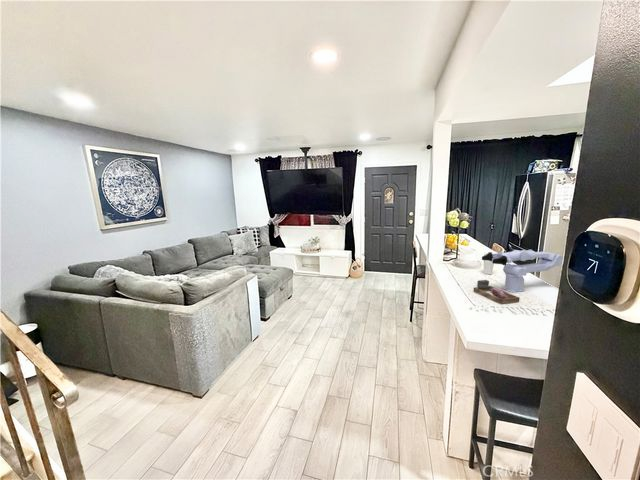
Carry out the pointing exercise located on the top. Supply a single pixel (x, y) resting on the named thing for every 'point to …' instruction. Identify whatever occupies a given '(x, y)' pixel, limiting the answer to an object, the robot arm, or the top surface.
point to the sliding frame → (484, 286)
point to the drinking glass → (488, 266)
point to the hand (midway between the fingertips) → (487, 259)
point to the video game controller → (498, 293)
